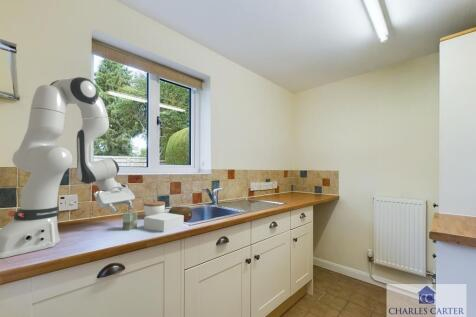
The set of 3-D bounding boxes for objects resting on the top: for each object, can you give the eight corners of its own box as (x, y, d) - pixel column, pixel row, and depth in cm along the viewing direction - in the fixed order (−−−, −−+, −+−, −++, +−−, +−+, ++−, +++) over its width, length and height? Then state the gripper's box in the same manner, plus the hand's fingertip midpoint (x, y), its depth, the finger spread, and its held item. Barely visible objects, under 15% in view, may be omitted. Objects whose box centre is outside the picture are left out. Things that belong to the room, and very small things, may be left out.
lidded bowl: (144, 215, 145) (144, 198, 146) (164, 214, 149) (165, 198, 149) (142, 220, 133) (142, 201, 134) (164, 219, 137) (165, 200, 137)
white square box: (163, 233, 109) (164, 220, 109) (143, 228, 115) (144, 217, 116) (183, 226, 121) (183, 215, 121) (164, 223, 128) (164, 212, 128)
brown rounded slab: (168, 220, 134) (168, 206, 134) (170, 219, 137) (171, 205, 137) (191, 222, 130) (191, 207, 131) (193, 221, 133) (194, 206, 134)
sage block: (129, 230, 111) (130, 213, 111) (122, 229, 113) (123, 213, 113) (136, 228, 115) (137, 212, 115) (130, 227, 117) (130, 211, 117)
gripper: (95, 187, 110) (109, 209, 106) (129, 184, 129) (142, 203, 125) (88, 196, 111) (101, 218, 107) (123, 192, 130) (135, 210, 126)
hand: (123, 210), depth 116 cm, fingers open, 8 cm apart
